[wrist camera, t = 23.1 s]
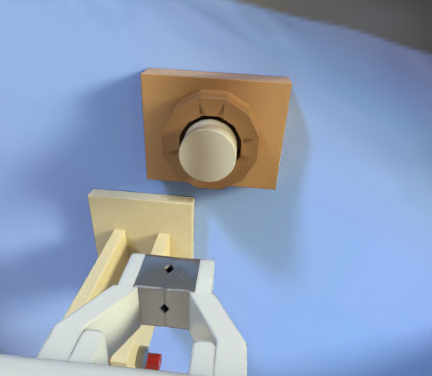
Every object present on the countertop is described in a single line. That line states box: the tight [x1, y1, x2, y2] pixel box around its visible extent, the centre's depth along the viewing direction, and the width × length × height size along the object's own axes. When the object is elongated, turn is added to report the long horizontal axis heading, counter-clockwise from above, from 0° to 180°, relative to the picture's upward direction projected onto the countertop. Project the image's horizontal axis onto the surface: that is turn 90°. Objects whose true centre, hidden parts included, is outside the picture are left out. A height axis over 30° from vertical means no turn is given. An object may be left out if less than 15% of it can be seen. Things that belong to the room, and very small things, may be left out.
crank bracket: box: [63, 189, 194, 369], centre depth 26 cm, size 11×9×13 cm
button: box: [179, 119, 237, 182], centre depth 22 cm, size 4×4×2 cm
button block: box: [141, 68, 292, 190], centre depth 24 cm, size 10×8×4 cm
